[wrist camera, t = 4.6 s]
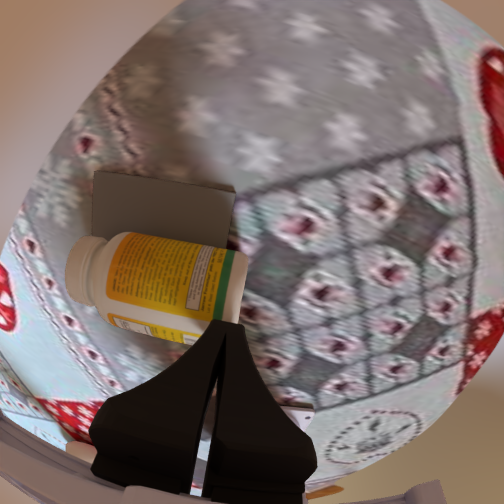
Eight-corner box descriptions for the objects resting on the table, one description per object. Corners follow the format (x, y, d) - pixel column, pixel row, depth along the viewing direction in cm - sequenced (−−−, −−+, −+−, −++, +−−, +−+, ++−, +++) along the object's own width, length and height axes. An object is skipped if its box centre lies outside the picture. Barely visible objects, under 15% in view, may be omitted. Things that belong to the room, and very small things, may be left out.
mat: (211, 333, 20) (210, 337, 20) (97, 304, 20) (95, 307, 19) (236, 192, 16) (235, 193, 16) (97, 170, 16) (94, 171, 16)
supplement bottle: (229, 373, 14) (66, 331, 14) (238, 313, 19) (105, 286, 19) (245, 284, 12) (50, 245, 12) (252, 237, 17) (101, 212, 16)
